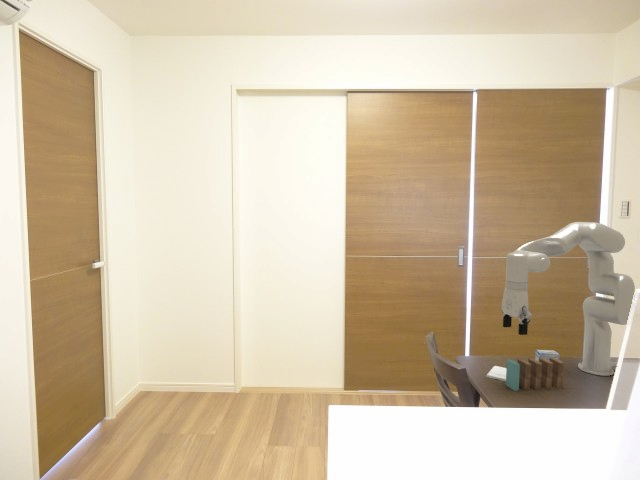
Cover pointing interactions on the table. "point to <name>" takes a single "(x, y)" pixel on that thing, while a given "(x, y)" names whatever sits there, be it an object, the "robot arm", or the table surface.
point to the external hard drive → (497, 373)
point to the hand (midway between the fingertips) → (514, 330)
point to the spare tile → (512, 375)
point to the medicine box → (546, 354)
